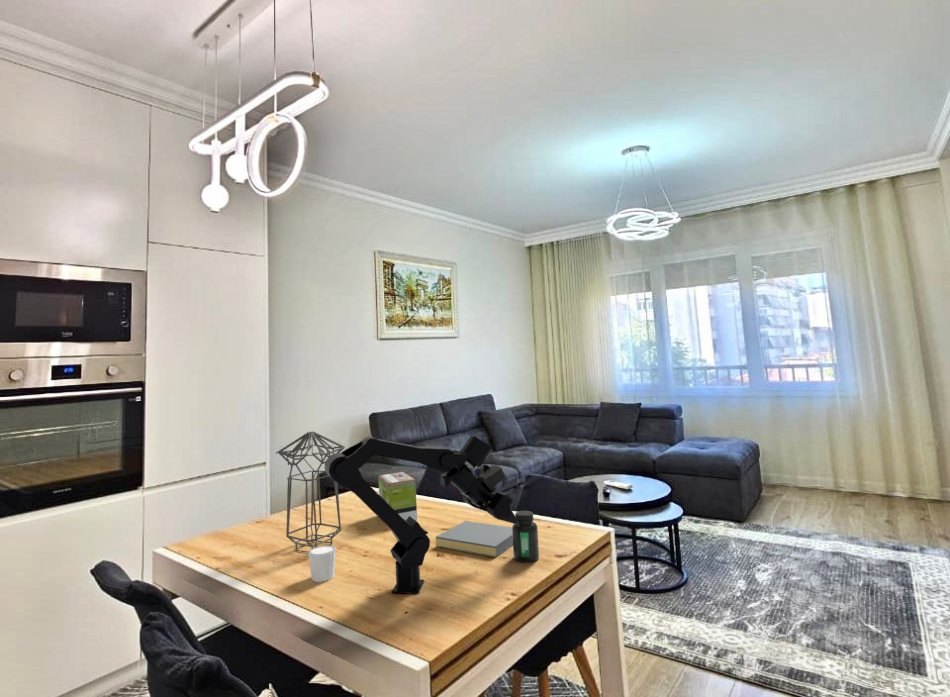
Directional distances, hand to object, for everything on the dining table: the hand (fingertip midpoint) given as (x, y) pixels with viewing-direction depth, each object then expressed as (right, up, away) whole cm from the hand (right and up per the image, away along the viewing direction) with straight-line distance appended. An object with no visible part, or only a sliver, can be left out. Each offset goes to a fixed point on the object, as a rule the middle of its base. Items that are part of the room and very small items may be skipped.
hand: (507, 517), depth 130 cm
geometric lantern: (-57, -16, +18) cm, 62 cm away
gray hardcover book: (-7, -13, +15) cm, 21 cm away
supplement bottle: (+5, -12, +2) cm, 13 cm away
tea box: (-36, -16, +45) cm, 60 cm away
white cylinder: (-48, -14, -4) cm, 50 cm away
